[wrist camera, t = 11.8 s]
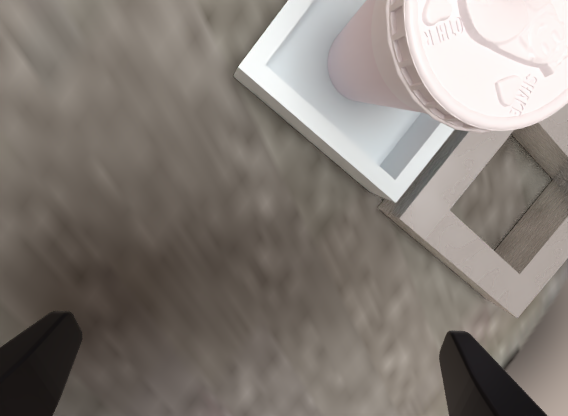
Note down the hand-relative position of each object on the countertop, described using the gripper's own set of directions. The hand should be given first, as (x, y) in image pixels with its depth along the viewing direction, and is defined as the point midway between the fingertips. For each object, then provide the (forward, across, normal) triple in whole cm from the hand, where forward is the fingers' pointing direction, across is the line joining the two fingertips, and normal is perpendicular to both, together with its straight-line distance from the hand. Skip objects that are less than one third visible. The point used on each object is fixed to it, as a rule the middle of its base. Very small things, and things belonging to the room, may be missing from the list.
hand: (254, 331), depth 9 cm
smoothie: (+14, -4, -3) cm, 15 cm away
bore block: (+14, -12, +4) cm, 19 cm away
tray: (+15, -4, -3) cm, 15 cm away
